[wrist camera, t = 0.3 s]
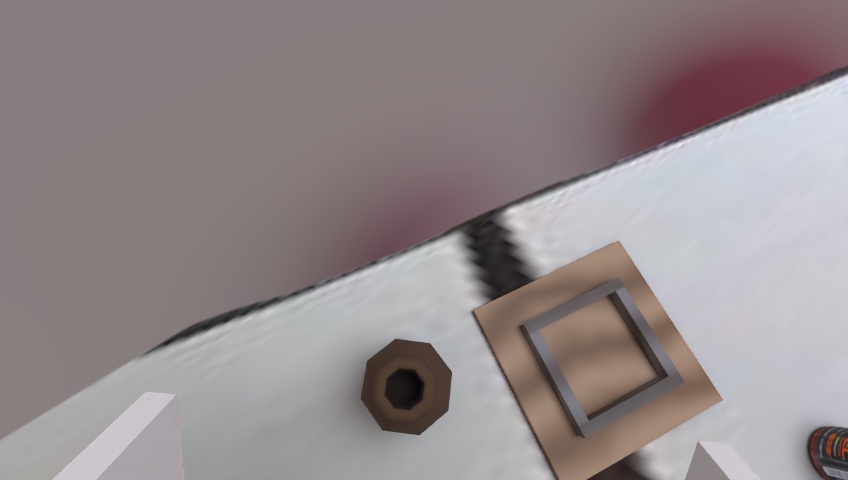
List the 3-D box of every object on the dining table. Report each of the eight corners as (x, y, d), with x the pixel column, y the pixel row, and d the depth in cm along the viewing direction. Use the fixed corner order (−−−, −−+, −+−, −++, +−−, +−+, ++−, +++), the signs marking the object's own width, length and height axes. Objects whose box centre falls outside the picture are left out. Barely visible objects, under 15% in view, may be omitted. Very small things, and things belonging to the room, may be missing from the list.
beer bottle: (396, 333, 46) (380, 291, 24) (456, 369, 45) (500, 360, 22) (359, 397, 44) (302, 418, 21) (421, 436, 43) (432, 502, 20)
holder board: (716, 399, 45) (736, 400, 42) (562, 488, 42) (573, 496, 39) (615, 242, 51) (627, 234, 48) (472, 311, 47) (476, 307, 44)
